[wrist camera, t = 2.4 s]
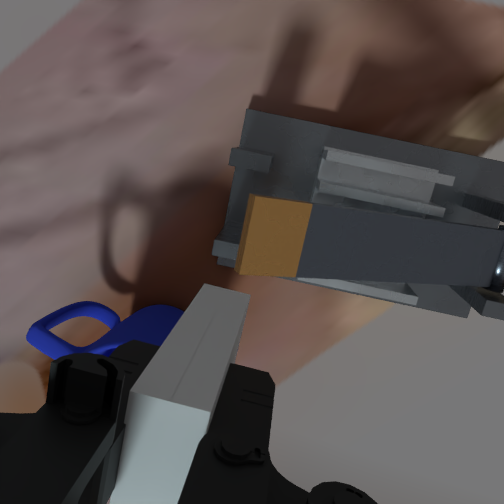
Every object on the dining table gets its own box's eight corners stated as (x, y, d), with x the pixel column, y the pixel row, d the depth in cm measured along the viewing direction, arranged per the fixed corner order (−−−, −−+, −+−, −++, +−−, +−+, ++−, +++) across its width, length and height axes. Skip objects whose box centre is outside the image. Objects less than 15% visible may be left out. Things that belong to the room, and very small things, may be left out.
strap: (230, 271, 22) (242, 282, 21) (246, 187, 21) (260, 193, 20) (488, 284, 31) (507, 293, 29) (508, 226, 30) (529, 232, 28)
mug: (107, 249, 38) (46, 285, 29) (231, 326, 39) (213, 387, 29) (63, 326, 40) (-8, 385, 31) (182, 398, 41) (150, 478, 31)
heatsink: (218, 261, 38) (197, 296, 29) (247, 109, 35) (234, 98, 26) (462, 313, 37) (516, 366, 29) (512, 164, 34) (588, 172, 26)
